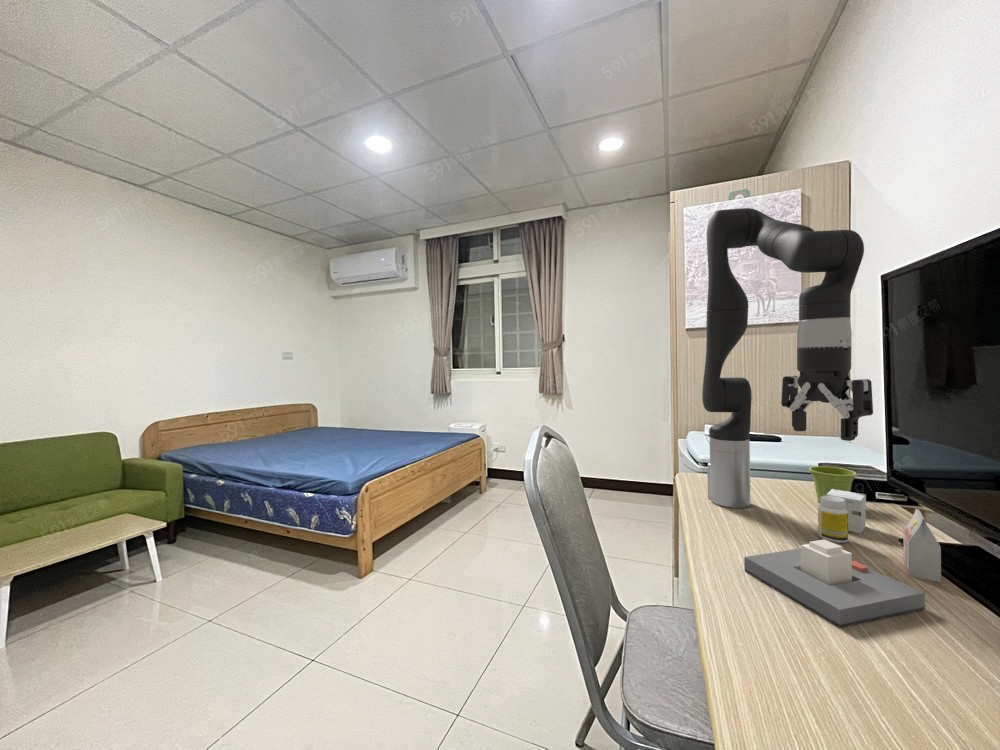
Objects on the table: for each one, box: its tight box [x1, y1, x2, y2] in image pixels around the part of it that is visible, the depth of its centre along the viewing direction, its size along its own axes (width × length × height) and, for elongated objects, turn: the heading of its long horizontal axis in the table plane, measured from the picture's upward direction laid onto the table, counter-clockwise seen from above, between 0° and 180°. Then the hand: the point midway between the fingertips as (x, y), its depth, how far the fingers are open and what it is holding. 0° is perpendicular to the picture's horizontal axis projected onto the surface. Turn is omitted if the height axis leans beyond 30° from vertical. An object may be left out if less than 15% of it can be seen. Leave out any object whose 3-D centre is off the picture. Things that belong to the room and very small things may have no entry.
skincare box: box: [826, 489, 867, 535], centre depth 88 cm, size 6×6×7 cm
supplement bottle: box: [817, 496, 849, 544], centre depth 82 cm, size 5×5×8 cm
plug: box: [800, 539, 853, 586], centre depth 64 cm, size 4×5×7 cm
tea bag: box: [902, 508, 942, 583], centre depth 69 cm, size 4×7×10 cm, turn 140°
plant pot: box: [808, 465, 857, 503], centre depth 103 cm, size 9×9×9 cm
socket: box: [743, 547, 926, 628], centre depth 64 cm, size 16×16×3 cm
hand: (822, 435), depth 71 cm, fingers open, 8 cm apart
